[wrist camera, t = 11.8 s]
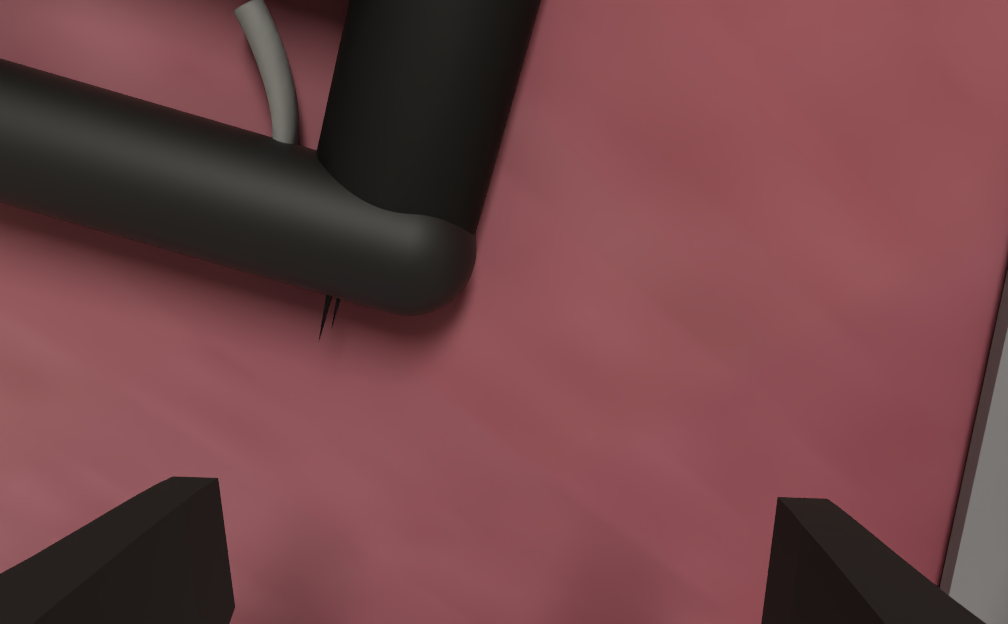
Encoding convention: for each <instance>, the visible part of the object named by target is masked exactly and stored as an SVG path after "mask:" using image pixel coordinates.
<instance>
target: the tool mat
mask: <svg viewBox="0 0 1008 624" xmlns="http://www.w3.org/2000/svg"><path fill="white" fill-rule="evenodd" d="M940 589H941V590H942V591H944V592H945V593H946V594H948V595H949V596H950V597H951V598H953V599H954V600H955V601H957V602H958V603H959V604H961V605H962V606H963V607H965V608H966V609H967V610H969V611H970V612H971V613H973V614H974V615H975V616H977V617H978V618H979V619H981V620H982V621H983V622H985V623H986V624H1008V270H1007V275H1006V280H1005V284H1004V289H1003V294H1002V298H1001V303H1000V308H999V313H998V317H997V322H996V327H995V331H994V336H993V341H992V345H991V350H990V355H989V359H988V364H987V369H986V373H985V378H984V383H983V387H982V392H981V397H980V401H979V406H978V411H977V415H976V420H975V425H974V429H973V434H972V439H971V443H970V448H969V453H968V458H967V462H966V467H965V472H964V476H963V481H962V486H961V490H960V495H959V500H958V504H957V509H956V514H955V518H954V523H953V528H952V532H951V537H950V542H949V546H948V551H947V556H946V560H945V565H944V570H943V574H942V579H941V584H940Z"/></svg>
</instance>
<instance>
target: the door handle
mask: <svg viewBox="0 0 1008 624" xmlns="http://www.w3.org/2000/svg"><path fill="white" fill-rule="evenodd" d="M539 3H540V0H349V4H348V9H347V14H346V18H345V23H344V27H343V32H342V37H341V41H340V46H339V51H338V55H337V60H336V65H335V69H334V74H333V79H332V83H331V88H330V92H329V97H328V102H327V106H326V111H325V116H324V120H323V125H322V130H321V134H320V139H319V144H318V148H317V150H313V149H310V148H306V147H303V146H299V145H298V137H299V114H298V104H297V97H296V91H295V86H294V81H293V76H292V73H291V69H290V65H289V62H288V58H287V55H286V52H285V49H284V46H283V43H282V41H281V38H280V36H279V33H278V31H277V28H276V26H275V23H274V21H273V19H272V17H271V15H270V12H269V10H268V8H267V6H266V4H265V2H264V0H252V1H249V2H247V3H245V4H243V5H241V6H240V7H238V8H237V9H235V10H234V14H235V15H236V17H237V19H238V21H239V23H240V25H241V27H242V29H243V32H244V34H245V36H246V38H247V40H248V43H249V45H250V47H251V50H252V52H253V54H254V57H255V60H256V62H257V65H258V68H259V71H260V74H261V77H262V80H263V83H264V87H265V90H266V94H267V98H268V103H269V107H270V113H271V120H272V134H273V138H272V137H268V136H265V135H262V134H258V133H255V132H251V131H248V130H244V129H241V128H238V127H234V126H231V125H227V124H224V123H220V122H217V121H213V120H210V119H207V118H203V117H200V116H196V115H193V114H189V113H186V112H182V111H179V110H176V109H172V108H169V107H165V106H162V105H158V104H155V103H152V102H148V101H145V100H141V99H138V98H134V97H131V96H127V95H124V94H121V93H117V92H114V91H110V90H107V89H103V88H100V87H97V86H93V85H90V84H86V83H83V82H79V81H76V80H72V79H69V78H66V77H62V76H59V75H55V74H52V73H48V72H45V71H41V70H38V69H35V68H31V67H28V66H24V65H21V64H17V63H14V62H11V61H7V60H4V59H0V202H1V203H4V204H8V205H12V206H15V207H19V208H22V209H26V210H29V211H33V212H36V213H40V214H43V215H47V216H50V217H54V218H57V219H61V220H64V221H68V222H71V223H75V224H78V225H82V226H86V227H89V228H93V229H96V230H100V231H103V232H107V233H110V234H114V235H117V236H121V237H124V238H128V239H131V240H135V241H138V242H142V243H145V244H149V245H152V246H156V247H160V248H163V249H167V250H170V251H174V252H177V253H181V254H184V255H188V256H191V257H195V258H198V259H202V260H205V261H209V262H212V263H216V264H219V265H223V266H227V267H230V268H234V269H237V270H241V271H244V272H248V273H251V274H255V275H258V276H262V277H265V278H269V279H272V280H276V281H279V282H283V283H286V284H290V285H293V286H297V287H301V288H304V289H308V290H311V291H315V292H318V293H322V294H325V295H326V301H325V307H324V313H323V319H322V325H321V331H320V336H321V333H322V329H323V326H324V323H325V319H326V316H327V313H328V309H329V306H330V302H331V299H332V297H336V298H337V299H336V305H335V311H334V317H333V322H334V319H335V316H336V312H337V309H338V306H339V302H340V299H343V300H346V301H350V302H353V303H357V304H360V305H364V306H367V307H371V308H375V309H378V310H382V311H385V312H389V313H392V314H397V315H407V316H411V315H421V314H425V313H429V312H432V311H434V310H437V309H439V308H441V307H443V306H444V305H446V304H447V303H449V302H450V301H451V300H453V299H454V298H455V297H456V296H457V295H458V294H459V293H460V292H461V290H462V289H463V288H464V286H465V285H466V283H467V282H468V280H469V278H470V276H471V273H472V271H473V268H474V264H475V259H476V238H475V232H476V229H477V225H478V221H479V218H480V214H481V211H482V207H483V204H484V200H485V196H486V193H487V189H488V186H489V182H490V178H491V175H492V171H493V168H494V164H495V161H496V157H497V153H498V150H499V146H500V143H501V139H502V136H503V132H504V128H505V125H506V121H507V118H508V114H509V111H510V107H511V103H512V100H513V96H514V93H515V89H516V86H517V82H518V78H519V75H520V71H521V68H522V64H523V60H524V57H525V53H526V50H527V46H528V43H529V39H530V35H531V32H532V28H533V25H534V21H535V18H536V14H537V10H538V7H539ZM332 326H333V323H332ZM331 329H332V328H331ZM319 340H320V337H319Z"/></svg>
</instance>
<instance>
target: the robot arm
mask: <svg viewBox="0 0 1008 624" xmlns="http://www.w3.org/2000/svg"><path fill="white" fill-rule="evenodd" d="M234 609H235V603H234V596H233V588H232V581H231V573H230V565H229V558H228V550H227V542H226V535H225V527H224V520H223V512H222V504H221V497H220V489H219V481H218V478H200V477H171V478H169V479H167V480H165V481H162V482H160V483H158V484H156V485H154V486H153V487H151V488H149V489H147V490H145V491H143V492H142V493H140V494H138V495H136V496H135V497H133V498H131V499H129V500H128V501H126V502H124V503H122V504H121V505H119V506H117V507H116V508H114V509H112V510H110V511H109V512H107V513H105V514H104V515H102V516H100V517H99V518H97V519H95V520H94V521H92V522H90V523H89V524H87V525H85V526H83V527H82V528H80V529H78V530H77V531H75V532H73V533H71V534H70V535H68V536H66V537H65V538H63V539H61V540H60V541H58V542H56V543H54V544H53V545H51V546H49V547H48V548H46V549H44V550H42V551H41V552H39V553H37V554H36V555H34V556H32V557H30V558H29V559H27V560H25V561H23V562H21V563H19V564H17V565H16V566H14V567H12V568H10V569H8V570H6V571H5V572H3V573H1V574H0V624H229V623H230V620H231V617H232V614H233V611H234ZM761 624H986V623H985V622H983V621H982V620H981V619H979V618H978V617H977V616H975V615H974V614H973V613H971V612H970V611H969V610H967V609H966V608H965V607H963V606H962V605H961V604H959V603H958V602H957V601H955V600H954V599H953V598H951V597H950V596H949V595H948V594H946V593H945V592H944V591H942V590H941V589H940V588H939V587H937V586H936V585H935V584H933V583H932V582H931V581H930V580H928V579H927V578H926V577H925V576H923V575H922V574H921V573H920V572H918V571H917V570H916V569H915V568H913V567H912V566H911V565H910V564H908V563H907V562H906V561H905V560H903V559H902V558H901V557H900V556H898V555H897V554H896V553H895V552H894V551H892V550H891V549H890V548H889V547H887V546H886V545H885V544H884V543H883V542H881V541H880V540H879V539H878V538H876V537H875V536H874V535H873V534H872V533H870V532H869V531H868V530H867V529H866V528H864V527H863V526H862V525H861V524H859V523H858V522H857V521H856V520H854V519H853V518H852V517H851V516H849V515H848V514H847V513H846V512H844V511H843V510H842V509H841V508H839V507H838V506H837V505H835V504H834V503H832V502H831V501H830V500H828V499H816V498H787V497H778V500H777V507H776V515H775V523H774V530H773V538H772V546H771V554H770V561H769V569H768V577H767V585H766V592H765V600H764V608H763V616H762V623H761Z"/></svg>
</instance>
